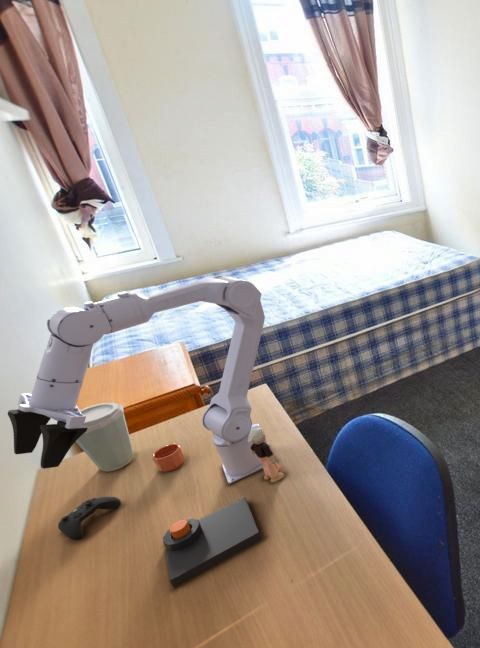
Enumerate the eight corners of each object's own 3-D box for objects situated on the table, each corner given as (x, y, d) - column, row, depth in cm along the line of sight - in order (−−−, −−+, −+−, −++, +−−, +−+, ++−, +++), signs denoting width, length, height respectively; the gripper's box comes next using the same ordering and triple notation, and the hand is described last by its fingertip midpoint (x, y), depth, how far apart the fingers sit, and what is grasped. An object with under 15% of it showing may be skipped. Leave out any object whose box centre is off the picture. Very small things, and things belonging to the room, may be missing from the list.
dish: (184, 453, 113) (178, 440, 111) (186, 464, 109) (180, 451, 108) (158, 464, 110) (151, 451, 108) (160, 476, 106) (153, 462, 105)
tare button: (189, 523, 88) (186, 516, 87) (191, 532, 86) (188, 525, 85) (172, 532, 87) (168, 525, 86) (173, 541, 85) (170, 534, 84)
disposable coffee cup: (119, 447, 118) (93, 397, 112) (156, 448, 116) (131, 397, 110) (78, 478, 108) (47, 425, 102) (118, 479, 106) (88, 426, 101)
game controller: (78, 539, 90) (50, 521, 89) (72, 551, 92) (45, 533, 91) (125, 500, 99) (100, 483, 98) (118, 512, 101) (94, 496, 100)
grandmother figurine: (292, 472, 103) (275, 426, 98) (279, 485, 100) (261, 437, 95) (265, 466, 106) (248, 421, 101) (252, 479, 103) (233, 432, 97)
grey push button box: (248, 503, 96) (242, 490, 95) (261, 539, 87) (256, 525, 86) (167, 544, 88) (160, 530, 87) (174, 588, 79) (166, 574, 78)
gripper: (4, 368, 77) (-21, 450, 76) (56, 390, 72) (30, 478, 71) (57, 369, 83) (34, 444, 82) (108, 389, 78) (84, 470, 77)
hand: (36, 459), depth 77 cm, fingers open, 7 cm apart
